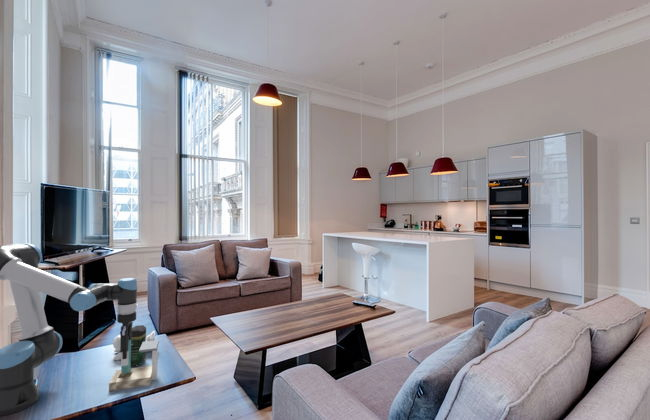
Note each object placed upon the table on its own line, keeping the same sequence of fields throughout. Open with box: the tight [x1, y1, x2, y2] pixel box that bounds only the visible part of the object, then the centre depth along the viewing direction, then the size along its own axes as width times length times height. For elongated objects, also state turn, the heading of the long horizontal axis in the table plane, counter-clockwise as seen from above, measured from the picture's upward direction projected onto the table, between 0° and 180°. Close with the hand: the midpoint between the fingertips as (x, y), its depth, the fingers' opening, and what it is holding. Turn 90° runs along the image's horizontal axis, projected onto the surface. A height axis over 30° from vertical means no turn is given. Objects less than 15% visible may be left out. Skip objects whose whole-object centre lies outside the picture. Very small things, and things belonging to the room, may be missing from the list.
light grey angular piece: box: [139, 339, 160, 381], centre depth 150 cm, size 7×10×16 cm
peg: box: [120, 340, 132, 374], centre depth 147 cm, size 4×4×14 cm
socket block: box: [108, 365, 153, 392], centre depth 148 cm, size 16×12×4 cm
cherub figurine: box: [112, 330, 156, 361], centre depth 176 cm, size 13×12×20 cm
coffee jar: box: [131, 324, 147, 368], centre depth 166 cm, size 10×8×19 cm
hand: (125, 363), depth 147 cm, fingers closed on peg, 3 cm apart
